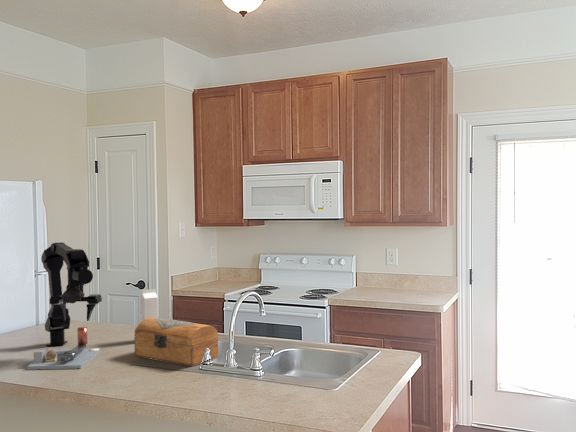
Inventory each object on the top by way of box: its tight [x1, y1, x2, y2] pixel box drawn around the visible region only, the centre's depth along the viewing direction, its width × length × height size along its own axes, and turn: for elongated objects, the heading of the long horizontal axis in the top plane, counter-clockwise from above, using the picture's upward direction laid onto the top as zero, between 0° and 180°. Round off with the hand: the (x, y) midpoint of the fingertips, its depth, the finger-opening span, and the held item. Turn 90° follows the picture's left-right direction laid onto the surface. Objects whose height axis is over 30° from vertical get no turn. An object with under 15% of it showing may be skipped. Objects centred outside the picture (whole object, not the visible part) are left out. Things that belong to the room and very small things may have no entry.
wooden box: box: [134, 317, 219, 367], centre depth 215 cm, size 30×16×14 cm, turn 57°
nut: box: [46, 349, 56, 360], centre depth 207 cm, size 4×4×4 cm
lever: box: [57, 326, 88, 361], centre depth 213 cm, size 5×22×8 cm, turn 2°
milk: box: [139, 288, 159, 323], centre depth 242 cm, size 6×6×22 cm
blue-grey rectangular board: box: [26, 347, 101, 371], centre depth 212 cm, size 24×19×5 cm
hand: (76, 320), depth 221 cm, fingers open, 9 cm apart
